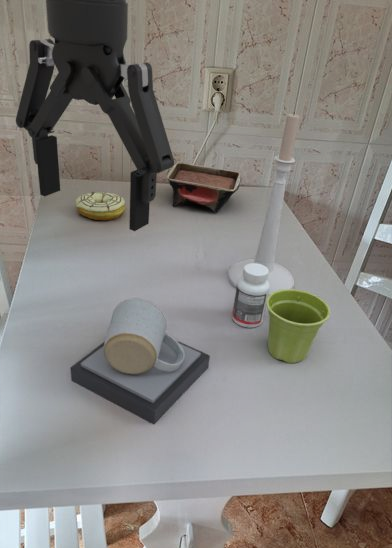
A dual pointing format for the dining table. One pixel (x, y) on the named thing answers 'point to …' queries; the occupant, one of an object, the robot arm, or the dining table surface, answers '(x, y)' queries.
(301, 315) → the plant pot
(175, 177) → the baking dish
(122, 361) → the ceramic mug
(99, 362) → the scale
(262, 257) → the candlestick
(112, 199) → the decorated donut
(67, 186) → the dining table surface
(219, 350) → the dining table surface
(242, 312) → the pill bottle
